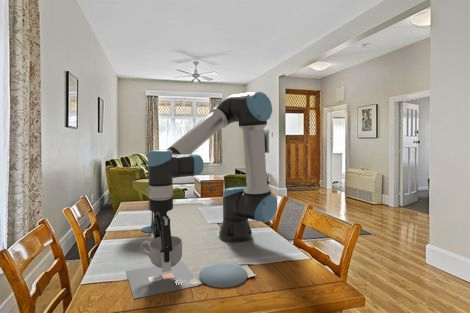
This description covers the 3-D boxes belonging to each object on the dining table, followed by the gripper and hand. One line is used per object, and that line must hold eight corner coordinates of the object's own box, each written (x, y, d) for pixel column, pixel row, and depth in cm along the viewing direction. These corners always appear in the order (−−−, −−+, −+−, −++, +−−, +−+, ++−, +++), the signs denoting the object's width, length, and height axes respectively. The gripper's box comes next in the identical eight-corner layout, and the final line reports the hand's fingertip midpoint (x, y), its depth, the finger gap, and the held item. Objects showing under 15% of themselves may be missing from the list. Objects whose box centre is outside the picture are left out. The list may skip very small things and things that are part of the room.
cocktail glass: (166, 235, 146) (165, 182, 144) (127, 234, 146) (127, 182, 144) (174, 224, 164) (174, 177, 162) (140, 224, 164) (139, 176, 162)
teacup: (188, 260, 106) (188, 237, 105) (172, 273, 95) (171, 248, 95) (153, 255, 110) (152, 233, 110) (134, 267, 100) (133, 243, 99)
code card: (126, 271, 107) (126, 270, 107) (182, 261, 115) (182, 261, 115) (133, 299, 89) (133, 298, 89) (200, 285, 97) (200, 284, 97)
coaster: (192, 270, 107) (192, 268, 107) (234, 263, 114) (234, 261, 114) (209, 292, 93) (209, 289, 93) (255, 281, 100) (255, 279, 100)
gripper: (143, 192, 109) (144, 253, 111) (156, 206, 88) (158, 281, 90) (164, 190, 112) (165, 250, 114) (182, 204, 91) (183, 276, 93)
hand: (162, 264), depth 102 cm, fingers closed on teacup, 11 cm apart
